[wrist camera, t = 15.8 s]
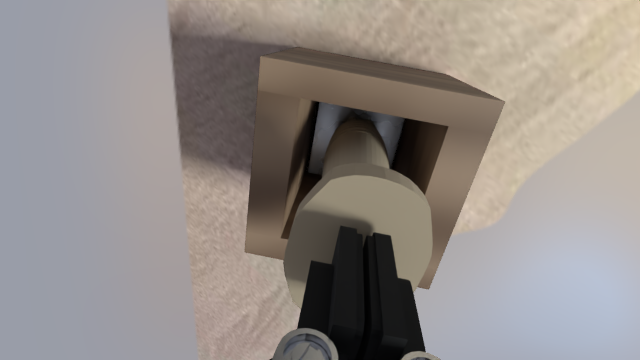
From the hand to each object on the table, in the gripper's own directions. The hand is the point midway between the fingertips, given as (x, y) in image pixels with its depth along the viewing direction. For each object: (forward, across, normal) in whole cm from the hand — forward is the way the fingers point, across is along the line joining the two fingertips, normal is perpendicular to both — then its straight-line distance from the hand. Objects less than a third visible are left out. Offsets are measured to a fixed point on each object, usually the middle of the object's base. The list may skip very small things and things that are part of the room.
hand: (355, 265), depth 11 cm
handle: (+16, 0, 0) cm, 16 cm away
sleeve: (+16, 0, 0) cm, 16 cm away
